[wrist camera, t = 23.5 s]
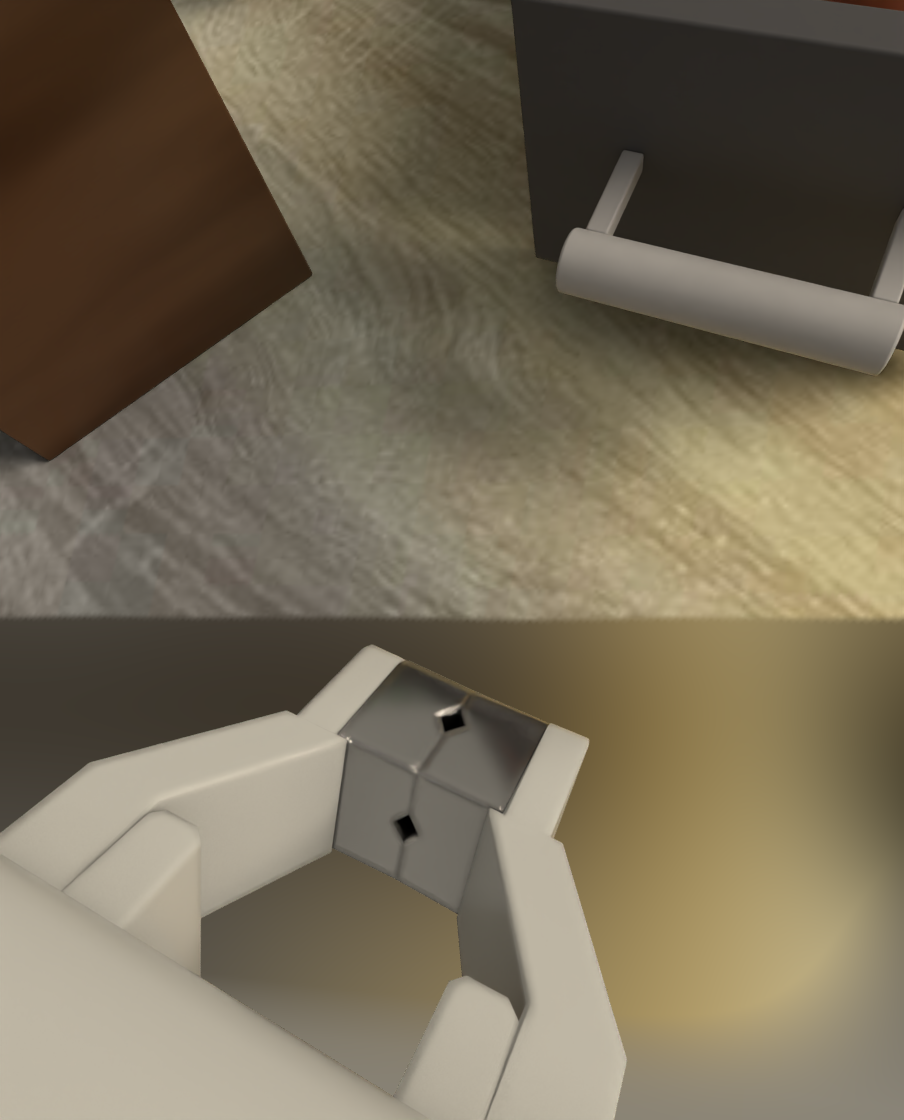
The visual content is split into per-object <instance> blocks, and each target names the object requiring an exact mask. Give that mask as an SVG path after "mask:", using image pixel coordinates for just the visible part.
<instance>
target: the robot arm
mask: <svg viewBox="0 0 904 1120" xmlns="http://www.w3.org/2000/svg"><path fill="white" fill-rule="evenodd" d="M588 746H589V739H588V738H586V737H584V736H581V735H579V734H576V733H574V732H571V731H569V730H567V729H564V728H562V727H559V726H557V725H555V724H551V723H548V722H545V721H543V720H541V719H538V718H536V717H534V716H531V715H529V714H527V713H524V712H522V711H519V710H517V709H515V708H513V707H510V706H508V705H506V704H503V703H501V702H499V701H496V700H494V699H492V698H489V697H487V696H484V695H482V694H480V693H478V692H475V691H473V690H471V689H469V688H466V687H464V686H462V685H460V684H458V683H456V682H454V681H452V680H449V679H447V678H445V677H443V676H441V675H439V674H436V673H434V672H432V671H430V670H428V669H426V668H424V667H421V666H419V665H417V664H415V663H413V662H411V661H409V660H404V659H402V658H400V657H398V656H396V655H394V654H392V653H389V652H387V651H385V650H383V649H381V648H379V647H376V646H374V645H370V646H368V647H365V648H363V649H361V650H360V651H359V652H358V654H356V655H355V656H354V658H353V659H351V660H350V662H349V663H348V664H347V665H346V666H345V667H344V668H343V669H342V670H341V671H340V672H339V673H338V674H337V675H336V676H335V677H334V678H333V679H332V680H331V681H330V682H329V683H328V684H327V685H326V686H325V687H324V688H323V689H322V690H321V691H320V692H319V693H318V694H317V695H316V696H315V697H314V698H313V699H312V700H311V701H310V702H309V703H308V704H307V705H306V706H305V707H304V708H303V709H302V710H301V711H300V712H299V713H298V714H297V715H295V714H293V713H290V712H288V711H282V712H279V713H275V714H271V715H267V716H264V717H260V718H256V719H252V720H249V721H245V722H241V723H237V724H234V725H230V726H226V727H222V728H219V729H215V730H211V731H207V732H204V733H200V734H196V735H192V736H188V737H184V738H181V739H177V740H174V741H169V742H166V743H162V744H158V745H154V746H150V747H147V748H143V749H139V750H135V751H132V752H128V753H124V754H120V755H116V756H113V757H109V758H105V759H101V760H98V761H94V762H90V763H88V764H87V765H86V766H85V767H83V768H82V769H81V770H80V771H78V772H77V773H76V774H74V775H73V776H72V777H71V778H69V779H68V780H67V781H66V782H64V783H63V784H62V785H61V786H59V787H58V788H57V789H55V790H54V791H53V792H52V793H50V794H49V795H48V796H47V797H45V798H44V799H43V800H41V801H40V802H39V803H38V804H36V805H35V806H34V807H33V808H32V809H30V810H29V811H27V812H26V813H25V814H24V815H22V817H20V818H19V819H17V820H16V821H15V822H14V823H12V824H11V825H10V826H8V827H7V828H6V829H5V830H3V831H2V832H1V833H0V1120H614V1117H615V1113H616V1108H617V1104H618V1099H619V1094H620V1090H621V1086H622V1081H623V1076H624V1072H625V1067H626V1063H627V1058H626V1055H625V1052H624V1048H623V1045H622V1041H621V1038H620V1035H619V1031H618V1028H617V1025H616V1021H615V1018H614V1014H613V1011H612V1008H611V1004H610V1001H609V998H608V994H607V991H606V987H605V984H604V981H603V978H602V974H601V971H600V967H599V964H598V961H597V957H596V954H595V950H594V947H593V944H592V940H591V937H590V934H589V930H588V927H587V924H586V920H585V917H584V913H583V910H582V907H581V903H580V900H579V897H578V893H577V890H576V886H575V883H574V880H573V876H572V873H571V869H570V866H569V863H568V859H567V856H566V853H565V849H564V846H563V843H561V842H559V841H557V840H555V839H554V836H555V833H556V831H557V828H558V825H559V823H560V820H561V817H562V815H563V812H564V809H565V807H566V804H567V801H568V799H569V796H570V793H571V791H572V788H573V785H574V783H575V780H576V777H577V775H578V772H579V770H580V767H581V764H582V761H583V759H584V756H585V753H586V751H587V748H588ZM332 848H334V849H336V850H338V851H340V852H342V853H344V854H346V855H348V856H350V857H352V858H354V859H356V860H358V861H360V862H362V863H364V864H366V865H368V866H370V867H372V868H374V869H376V870H378V871H380V872H382V873H385V874H387V875H388V876H390V877H393V878H395V879H396V880H398V881H400V882H402V883H403V884H405V885H407V886H409V887H411V888H412V889H414V890H416V891H418V892H419V893H421V894H423V895H425V896H427V897H428V898H430V899H432V900H434V901H435V902H437V903H439V904H441V905H442V906H444V907H446V908H448V909H450V910H451V911H453V912H455V913H457V914H458V916H457V925H458V936H459V947H460V959H461V970H462V977H461V978H457V979H455V980H452V981H449V983H448V985H447V987H446V989H445V991H444V993H443V995H442V997H441V999H440V1001H439V1003H438V1005H437V1007H436V1009H435V1011H434V1013H433V1016H432V1018H431V1020H430V1022H429V1024H428V1026H427V1028H426V1030H425V1032H424V1034H423V1036H422V1038H421V1040H420V1042H419V1044H418V1046H417V1048H416V1050H415V1053H414V1055H413V1057H412V1059H411V1061H410V1063H409V1065H408V1067H407V1069H406V1071H405V1073H404V1075H403V1077H402V1079H401V1081H400V1083H399V1085H398V1088H397V1090H396V1092H395V1094H394V1096H392V1095H390V1094H388V1093H387V1092H385V1091H384V1090H382V1089H380V1088H379V1087H377V1086H375V1085H374V1084H372V1083H371V1082H369V1081H367V1080H366V1079H364V1078H363V1077H361V1076H359V1075H358V1074H356V1073H355V1072H353V1071H351V1070H350V1069H348V1068H346V1067H345V1066H343V1065H342V1064H340V1063H338V1062H337V1061H335V1060H334V1059H332V1058H330V1057H329V1056H327V1055H325V1054H324V1053H322V1052H321V1051H319V1050H317V1049H316V1048H314V1047H313V1046H311V1045H309V1044H308V1043H306V1042H305V1041H303V1040H301V1039H300V1038H298V1037H296V1036H295V1035H293V1034H291V1033H290V1032H288V1031H287V1030H285V1029H284V1028H282V1027H280V1026H279V1025H277V1024H275V1023H274V1022H272V1021H270V1020H269V1019H267V1018H265V1017H264V1016H262V1015H261V1014H259V1013H258V1012H256V1011H254V1010H253V1009H251V1008H249V1007H248V1006H246V1005H245V1004H243V1003H241V1002H240V1001H238V1000H236V999H235V998H233V997H232V996H230V995H228V994H227V993H225V992H223V991H222V990H220V989H218V988H217V987H215V986H214V985H212V984H211V983H209V982H207V981H206V980H204V979H202V978H201V918H202V917H204V916H206V915H208V914H210V913H212V912H214V911H216V910H218V909H220V908H222V907H224V906H226V905H227V904H230V903H232V902H234V901H236V900H238V899H240V898H242V897H244V896H246V895H248V894H250V893H252V892H254V891H255V890H257V889H259V888H261V887H263V886H265V885H267V884H269V883H271V882H273V881H275V880H277V879H279V878H281V877H283V876H285V875H287V874H289V873H291V872H293V871H294V870H297V869H299V868H301V867H303V866H305V865H307V864H309V863H311V862H313V861H315V860H317V859H319V858H320V857H323V856H325V855H327V854H328V853H330V852H331V850H332Z"/></svg>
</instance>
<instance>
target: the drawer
mask: <svg viewBox="0 0 904 1120" xmlns="http://www.w3.org/2000/svg"><path fill="white" fill-rule="evenodd" d="M511 5H512V15H513V26H514V36H515V46H516V57H517V67H518V78H519V88H520V99H521V109H522V119H523V130H524V140H525V151H526V161H527V172H528V182H529V192H530V203H531V213H532V224H533V234H534V244H535V255H536V257H537V258H541V259H545V260H549V261H553V262H556V263H558V265H557V271H556V288H557V290H558V291H559V292H560V293H564V294H568V295H572V296H575V297H579V298H583V299H587V300H590V301H594V302H598V303H602V304H606V305H609V306H613V307H617V308H621V309H624V310H628V311H632V312H636V313H639V314H643V315H647V316H651V317H655V318H658V319H662V320H666V321H670V322H673V323H677V324H681V325H685V326H688V327H692V328H696V329H700V330H704V331H707V332H711V333H715V334H719V335H722V336H726V337H730V338H734V339H737V340H741V341H745V342H749V343H753V344H756V345H760V346H764V347H768V348H771V349H775V350H779V351H783V352H786V353H790V354H794V355H798V356H802V357H805V358H809V359H813V360H817V361H820V362H824V363H828V364H832V365H835V366H839V367H843V368H847V369H851V370H854V371H858V372H862V373H866V374H869V375H873V376H875V375H879V374H880V373H881V372H882V370H883V369H884V368H885V366H886V365H887V363H888V361H889V360H890V358H891V356H892V354H893V352H894V350H895V349H899V350H903V351H904V11H898V10H891V9H884V8H876V7H869V6H861V5H854V4H846V3H839V2H831V1H824V0H511Z"/></svg>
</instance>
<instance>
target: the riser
mask: <svg viewBox="0 0 904 1120" xmlns="http://www.w3.org/2000/svg"><path fill="white" fill-rule="evenodd" d="M310 276H312V271H311V269H310V267H309V265H308V264H307V262H306V260H305V258H304V256H303V254H302V252H301V250H300V248H299V246H298V244H297V242H296V241H295V239H294V237H293V235H292V233H291V231H290V229H289V227H288V225H287V223H286V221H285V219H284V217H283V216H282V214H281V212H280V210H279V208H278V206H277V204H276V202H275V200H274V198H273V196H272V194H271V192H270V191H269V189H268V187H267V185H266V183H265V181H264V179H263V177H262V175H261V173H260V171H259V169H258V167H257V166H256V164H255V162H254V160H253V158H252V156H251V154H250V152H249V150H248V148H247V146H246V144H245V142H244V141H243V139H242V137H241V135H240V133H239V131H238V129H237V127H236V125H235V123H234V121H233V119H232V117H231V116H230V114H229V112H228V110H227V108H226V106H225V104H224V102H223V100H222V98H221V96H220V94H219V92H218V91H217V89H216V87H215V85H214V83H213V81H212V79H211V77H210V75H209V73H208V71H207V69H206V67H205V66H204V64H203V62H202V60H201V58H200V56H199V54H198V52H197V50H196V48H195V46H194V44H193V43H192V41H191V39H190V37H189V35H188V33H187V31H186V29H185V27H184V25H183V23H182V21H181V19H180V18H179V16H178V14H177V12H176V10H175V8H174V6H173V4H172V2H171V0H0V430H1V431H3V432H4V433H6V434H7V435H9V436H10V437H12V438H14V439H15V440H17V441H18V442H20V443H21V444H23V445H25V446H26V447H28V448H29V449H31V450H32V451H34V452H36V453H37V454H39V455H40V456H42V457H44V458H45V459H47V460H49V461H50V460H52V459H53V458H54V457H56V456H57V455H59V454H60V453H62V452H63V451H64V450H66V449H67V448H69V447H70V446H71V445H73V444H74V443H76V442H77V441H78V440H80V439H81V438H83V437H84V436H86V435H87V434H88V433H90V432H91V431H93V430H94V429H95V428H97V427H98V426H100V425H101V424H103V423H104V422H105V421H107V420H108V419H110V418H111V417H112V416H114V415H115V414H117V413H118V412H119V411H121V410H122V409H124V408H125V407H127V406H128V405H129V404H131V403H132V402H134V401H135V400H136V399H138V398H139V397H141V396H142V395H143V394H145V393H146V392H148V391H149V390H151V389H152V388H153V387H155V386H156V385H158V384H159V383H160V382H162V381H163V380H165V379H166V378H168V377H169V376H170V375H172V374H173V373H175V372H176V371H177V370H179V369H180V368H182V367H183V366H184V365H186V364H187V363H189V362H190V361H192V360H193V359H194V358H196V357H197V356H199V355H200V354H201V353H203V352H204V351H206V350H207V349H209V348H210V347H211V346H213V345H214V344H216V343H217V342H218V341H220V340H221V339H223V338H224V337H225V336H227V335H228V334H230V333H231V332H233V331H234V330H235V329H237V328H238V327H240V326H241V325H242V324H244V323H245V322H247V321H248V320H249V319H251V318H252V317H254V316H255V315H257V314H258V313H259V312H261V311H262V310H264V309H265V308H266V307H268V306H269V305H271V304H272V303H274V302H275V301H276V300H278V299H279V298H281V297H282V296H283V295H285V294H286V293H288V292H289V291H290V290H292V289H293V288H295V287H296V286H298V285H299V284H300V283H302V282H303V281H305V280H306V279H307V278H309V277H310Z"/></svg>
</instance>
